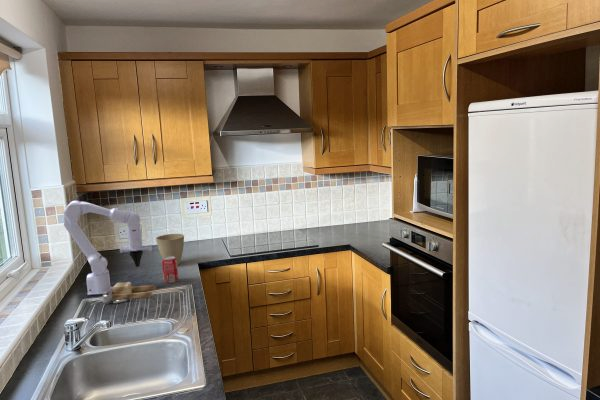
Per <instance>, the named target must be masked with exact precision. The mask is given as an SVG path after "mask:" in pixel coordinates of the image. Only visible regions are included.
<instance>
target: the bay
mask: <svg viewBox="0 0 600 400" xmlns="http://www.w3.org/2000/svg"><path fill="white" fill-rule="evenodd" d="M131 290H132V293H128V294H114V291H113V289H112V290H111V291H110V292H109V293H113V301H116V300H121V299H126V296H127V295H129V297H130V299H141V298H152V291H156V290H157V285H155V284H153V285H139V286H138V285H137V286H131ZM145 291H147V292H145Z"/></svg>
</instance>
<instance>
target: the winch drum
mask: <svg viewBox="0 0 600 400" xmlns="http://www.w3.org/2000/svg"><path fill="white" fill-rule="evenodd" d="M102 301H103V305H110V304H112V303H113V301H114V300H113V293H110V292H109V291H107V292H106V293H105V294H102Z"/></svg>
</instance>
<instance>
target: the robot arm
mask: <svg viewBox="0 0 600 400" xmlns="http://www.w3.org/2000/svg"><path fill="white" fill-rule="evenodd" d="M81 213H82V215H85V214H89V213H93V214H97V215H101V216H105V217H108V218H109V220H110V221H114V222H118V223H121V224H126V225H127V234H128V245H129V246H126V247H120V248H119V253H121V254H122V253H129V255H130V257H131V259H132V260H133V262H134V265H135V267H136V268H139V267H141V266H140V264H141V259H142V256H143V253H144V252H152V251H153V245H143V238H142V230H141V223H140V222H141V217H140V215H139V214H138V213H137V212H135V211H131V210H128V211H127V210H123V209H121V207H113V208H111V209H110V208H107V207H104V206H100V205H96V204H94V203H90V202H87V201H80V200H72V201H70V202H69V204H67V205H66V206H65V209H64V211H63V216H64V217H63V226H64V228H65V229H66V231H67V232H68V234H69V235H70V236H71V238H72V239H73V240H74V242H75V243H76V244H77V246H78V248H79V249H80V250H81V251H82V253H83V254H84V256H85V257H86V259H87V261H88V263H89V265H90V269H91V273H88V274H87V275H86V287H87V288H86V289H87V296H91V295H103V294H105V293H106V292H107V291H109V293H110V292H111V290H112V289H113V287H114V286H111V281H110V271H109V269H108V268H107V266H108V263H109V262H108V259H107V257H104V256H102V254H101V253H100V252H98V251H97V249H96V248H95V246H94V245H93V244H92V243H91V241H90V239H89V238H88V236H87V235H86V234H85V233H84V231H83V229H82V228H81V227H80V226H79V224H78V221H79V217H80V215H81Z"/></svg>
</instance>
